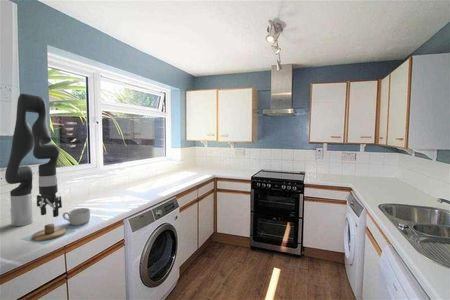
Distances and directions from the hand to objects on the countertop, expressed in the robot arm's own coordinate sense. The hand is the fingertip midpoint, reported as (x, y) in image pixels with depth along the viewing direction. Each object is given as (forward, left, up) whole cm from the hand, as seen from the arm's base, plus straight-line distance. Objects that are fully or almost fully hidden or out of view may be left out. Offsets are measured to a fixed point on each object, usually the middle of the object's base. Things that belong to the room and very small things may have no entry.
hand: (49, 215), depth 120 cm
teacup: (-2, +17, -11) cm, 20 cm away
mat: (0, 0, -11) cm, 11 cm away
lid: (0, 0, -10) cm, 10 cm away
